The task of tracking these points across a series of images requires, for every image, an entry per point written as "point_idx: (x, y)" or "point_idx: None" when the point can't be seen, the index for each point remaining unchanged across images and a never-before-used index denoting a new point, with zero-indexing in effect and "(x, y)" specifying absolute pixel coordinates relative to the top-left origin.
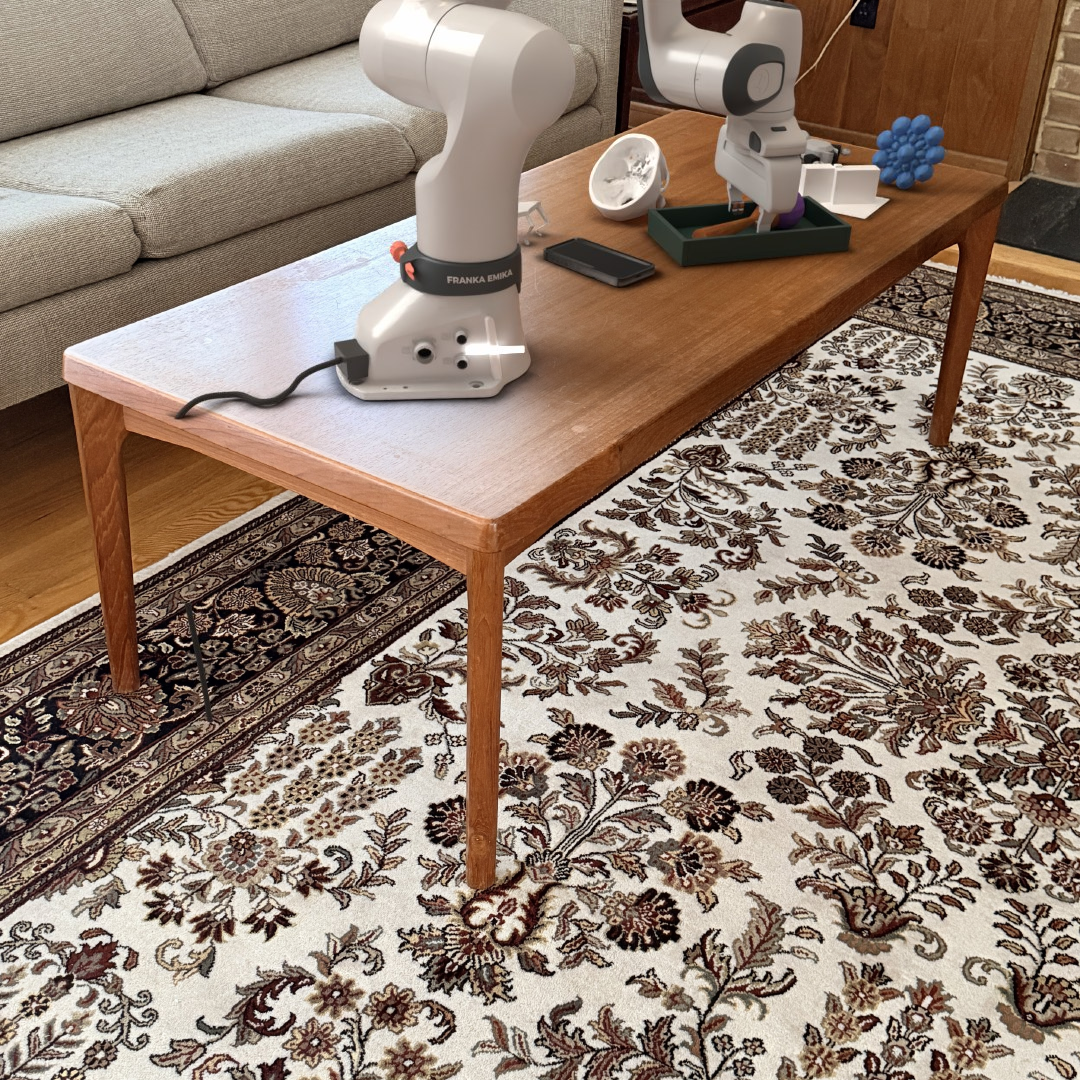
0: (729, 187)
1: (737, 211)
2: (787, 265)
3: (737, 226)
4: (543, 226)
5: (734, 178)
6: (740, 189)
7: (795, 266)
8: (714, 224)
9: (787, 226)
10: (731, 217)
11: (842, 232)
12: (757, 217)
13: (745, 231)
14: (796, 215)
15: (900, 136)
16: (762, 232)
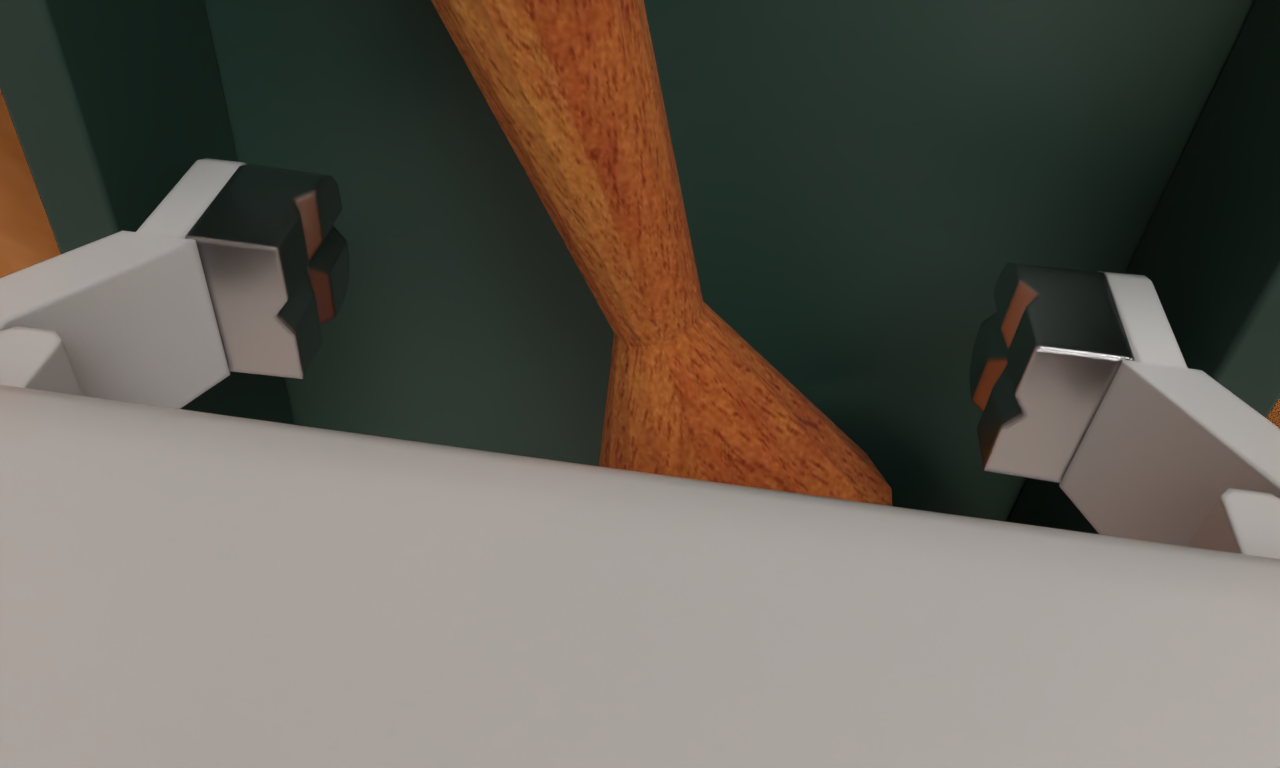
0: (1266, 506)
1: (1003, 332)
2: (23, 175)
3: (459, 43)
4: None
5: (956, 638)
6: (627, 490)
7: (5, 221)
8: (1233, 46)
9: None
10: (1159, 282)
11: None
12: (622, 390)
13: (848, 250)
14: None
15: None
16: (93, 189)
